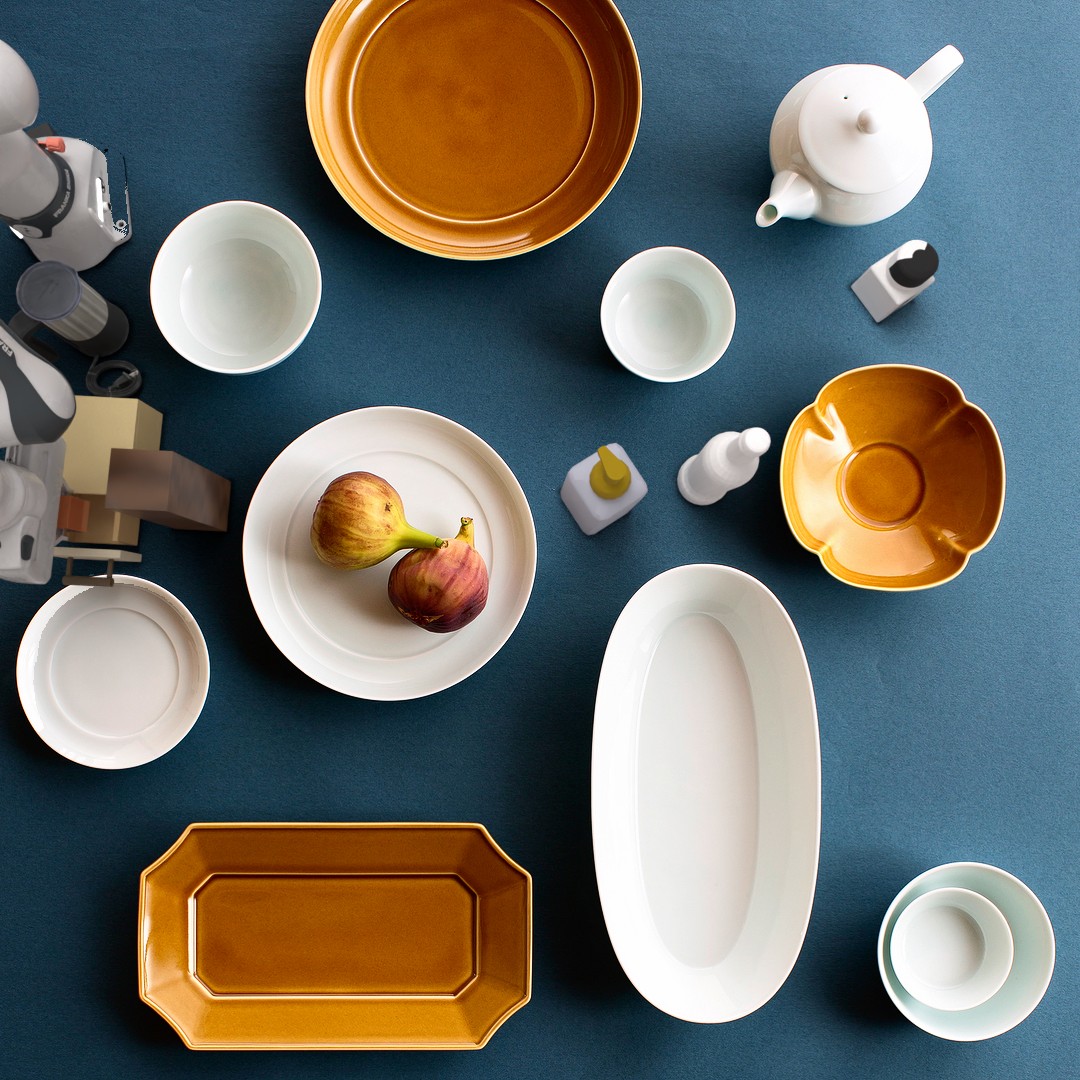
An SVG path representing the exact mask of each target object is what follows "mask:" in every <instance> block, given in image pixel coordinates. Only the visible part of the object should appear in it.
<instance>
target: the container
mask: <svg viewBox="0 0 1080 1080" xmlns="http://www.w3.org/2000/svg"><path fill="white" fill-rule="evenodd" d="M939 265H940V258H939V254H938V252H937V250H936V249H935V247H934V246H933V245H931V244H930V243H929V242H927V241H925V240H921V239H912V240H909V241H906V242H904V243H903V244H902V245H900V246H899V247H897V248H896V249H894V250H893V251H891V252H890V253H888V254H887V255H886V256H884V257H882V258H881V259H879V260H878V261H876V262H875V263H874V264H872V265H870V266H869V267H868V268H867V270H865V271H864V272H863V273H862V274H861V275H860V276H859V277H858V279H856V280H855V281H854V282H853V283H852V285H851V286H850V288H851V289H852V291H853V292H854V294H855V295H856V297H857V298H858V299H859V300H860V302H861V303H862V305H863V306H864V307H865V309H866V310H867V311H868V312H869V314H870V316H871V317H872V318H873V320H874V321H875V322H876V323H880V322H881V321H883V320H884V319H886V318H887V317H889V316H890V315H892V314H893V313H894V312H896V311H897V310H899V309H901V308H902V307H904V306H905V305H907V304H908V303H910V302H911V301H913V299H915V298H916V297H917V296H919V295H920V294H921V293H922V292H924V291H925V290H926V289H928V288H929V287H930V286H931V285H933V283H934V282H935V281H936V278H935V277H934V275H935V274H936V273H937V271H938V269H939Z"/></svg>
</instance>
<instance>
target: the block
mask: <svg viewBox="0 0 1080 1080" xmlns="http://www.w3.org/2000/svg"><path fill="white" fill-rule="evenodd" d="M89 506H90V502H89V501H86V500H83V499H79V498H76V497H73V496H64V495H60V504H59V512H58V520H57V529H64V530H69V532H81V533H86V532H87V524H88V515H89Z"/></svg>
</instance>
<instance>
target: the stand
mask: <svg viewBox="0 0 1080 1080" xmlns="http://www.w3.org/2000/svg"><path fill="white" fill-rule="evenodd" d="M231 488H232V481H230V480H229V479H227V478H225V477H223V476H222V475H219V474H217V473H216V472H214V471H211V470H210V469H208V468H205V467H204V466H202V465H200V464H198V463H196V462H195V461H193V460H190V459H188V458H187V457H185V456H183V455H181V454H179V453H178V452H175V451H173V450H160V449H159V450H141V449H123V448H111V454H110V463H109V473H108V482H107V491H106V500H105V508H106V509H109V510H113V511H116V512H119V513H123V514H126V515H130V516H133V517H136V518H140V520H143V521H147V522H150V523H154V524H156V525H161V526H164V527H167V528H170V529H174V530H187V531H207V532H225V533H226V532H228V531H227V530H228V523H229V522H228V521H229V511H230V501H231V490H232V489H231Z"/></svg>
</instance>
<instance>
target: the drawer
mask: <svg viewBox="0 0 1080 1080" xmlns="http://www.w3.org/2000/svg"><path fill="white" fill-rule="evenodd" d="M73 497H76V498H79V499H83V500H86V501H89V502H90V506H89V515H88V524H87V532H86V533H81V532H69V536H68V540H67V541H66V540H62V542H69V543H77V544H78V543H80V544H98V545H119V546H120V545H121V546H138V541H139V532H140V523H141V519H140V518H136V517H133V516H130V515H126V514H123V513H119V512H116V511H113V510H109V509H106V508H105V500H106V495H94V494H75V493H73ZM53 557H55V558H62V559H67V560H66V566H65V567H66V569H65V575H64V576H63V577H62V579H61V583H62V585H64V586H76V587H77V586H78V587H79V586H80V587H102V588H113V587H114V586H115V579H114V577H113V574H114V566H115V565H114V564H115V562H130V563H131V562H132V563H133V562H134V563H141V562H142V557H143V555H142V553H138V552H137V553H136V552H132V551H128V550H121V549H108V548H107V549H105V548H104V549H103V548H85V547H68V546H67V547H65V546H54V554H53ZM74 560H92V561H107V569H106V577H105V576H85V575H83V576H82V575H73V567H74Z"/></svg>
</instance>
